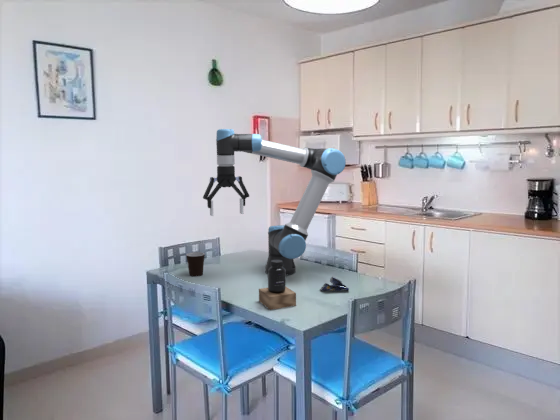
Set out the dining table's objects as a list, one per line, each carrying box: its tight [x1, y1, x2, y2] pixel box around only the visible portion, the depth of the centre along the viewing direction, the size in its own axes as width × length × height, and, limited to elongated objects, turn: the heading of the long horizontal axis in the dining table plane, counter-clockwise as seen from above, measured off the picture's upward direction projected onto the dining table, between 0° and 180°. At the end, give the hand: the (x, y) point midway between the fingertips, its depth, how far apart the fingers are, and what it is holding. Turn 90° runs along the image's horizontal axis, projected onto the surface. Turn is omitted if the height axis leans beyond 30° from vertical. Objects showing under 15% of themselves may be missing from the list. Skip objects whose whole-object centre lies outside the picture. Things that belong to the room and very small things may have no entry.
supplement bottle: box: [267, 260, 287, 293], centre depth 176 cm, size 7×7×12 cm
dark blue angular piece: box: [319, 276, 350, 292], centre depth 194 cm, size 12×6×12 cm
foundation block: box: [258, 285, 297, 311], centre depth 177 cm, size 11×11×5 cm
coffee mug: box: [185, 251, 206, 277], centre depth 219 cm, size 12×9×10 cm
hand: (226, 214), depth 197 cm, fingers open, 13 cm apart
